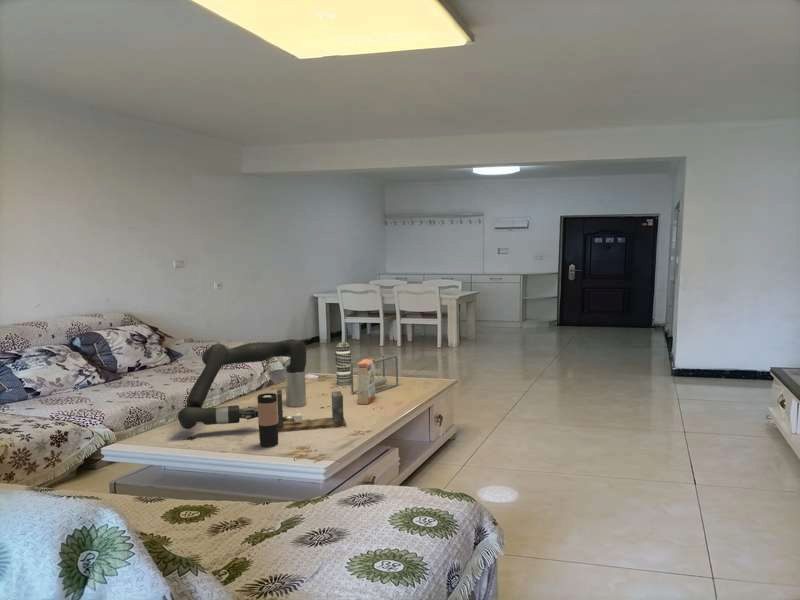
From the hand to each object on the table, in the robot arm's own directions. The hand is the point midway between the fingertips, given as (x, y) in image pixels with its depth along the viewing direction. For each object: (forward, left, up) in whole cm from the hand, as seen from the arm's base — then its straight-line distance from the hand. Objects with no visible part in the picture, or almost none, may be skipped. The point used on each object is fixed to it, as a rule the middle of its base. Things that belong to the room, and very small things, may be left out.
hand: (269, 411), depth 263 cm
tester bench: (+11, +13, -8) cm, 19 cm away
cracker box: (+3, +61, -8) cm, 61 cm away
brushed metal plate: (+5, +6, -6) cm, 9 cm away
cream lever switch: (+7, +11, -5) cm, 14 cm away
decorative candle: (-32, +81, -8) cm, 87 cm away
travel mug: (+17, -14, -8) cm, 24 cm away
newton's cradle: (-10, +83, -8) cm, 84 cm away
